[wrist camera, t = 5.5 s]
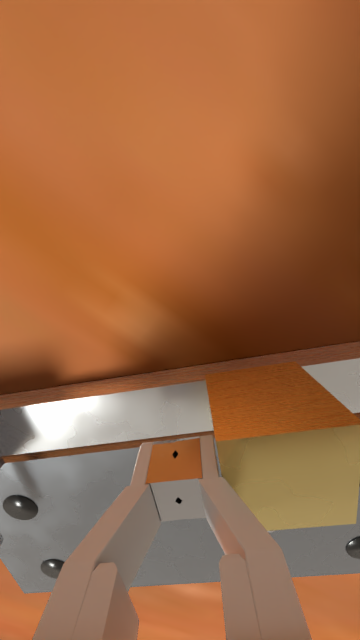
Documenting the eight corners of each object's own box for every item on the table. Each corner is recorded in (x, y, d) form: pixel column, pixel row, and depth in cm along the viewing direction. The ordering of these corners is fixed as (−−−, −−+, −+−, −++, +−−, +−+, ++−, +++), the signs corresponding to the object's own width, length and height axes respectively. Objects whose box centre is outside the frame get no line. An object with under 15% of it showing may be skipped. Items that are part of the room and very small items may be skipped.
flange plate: (-50, 462, 13) (-61, 471, 13) (544, 389, 11) (567, 397, 10) (30, 582, 17) (24, 594, 17) (484, 552, 14) (498, 566, 14)
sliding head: (204, 374, 9) (215, 441, 6) (295, 361, 9) (364, 424, 5) (227, 510, 11) (245, 614, 8) (299, 503, 11) (348, 609, 8)
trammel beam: (-75, 399, 12) (-249, 489, 7) (554, 302, 9) (944, 344, 5) (-11, 501, 14) (-109, 620, 10) (505, 448, 12) (726, 577, 7)
